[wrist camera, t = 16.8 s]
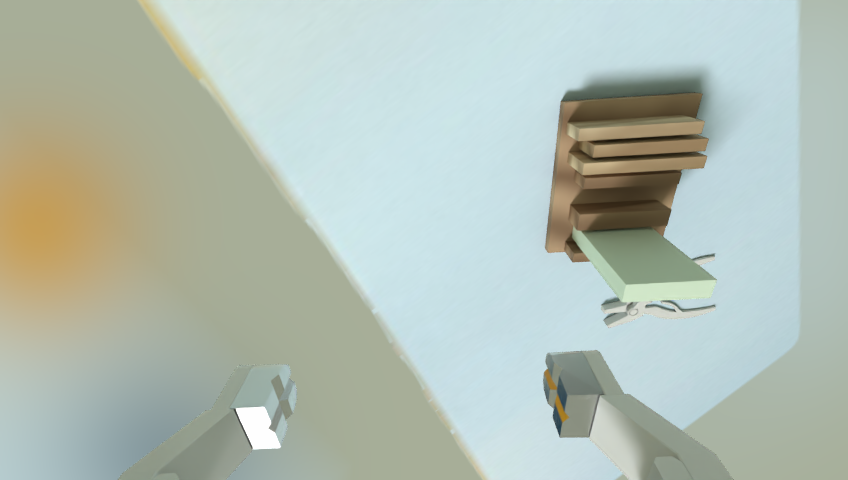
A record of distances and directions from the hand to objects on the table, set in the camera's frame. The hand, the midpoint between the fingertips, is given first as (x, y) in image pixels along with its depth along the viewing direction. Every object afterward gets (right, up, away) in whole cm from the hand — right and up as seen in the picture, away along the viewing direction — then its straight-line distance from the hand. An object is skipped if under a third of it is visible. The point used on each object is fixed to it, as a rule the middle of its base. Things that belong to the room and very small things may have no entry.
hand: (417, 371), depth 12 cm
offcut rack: (+22, +11, +31) cm, 40 cm away
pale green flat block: (+22, +6, +33) cm, 40 cm away
